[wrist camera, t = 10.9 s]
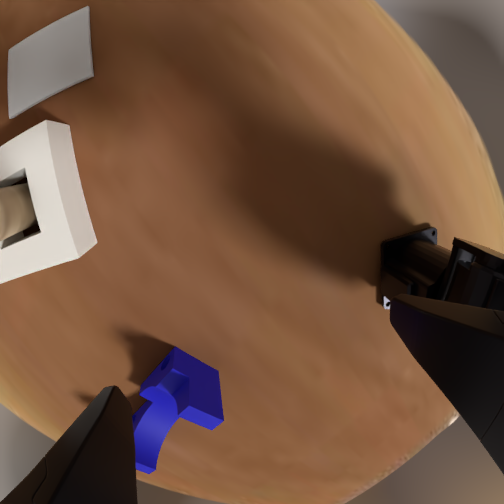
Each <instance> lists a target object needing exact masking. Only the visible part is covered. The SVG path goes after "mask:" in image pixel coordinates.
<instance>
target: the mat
mask: <svg viewBox="0 0 504 504" xmlns="http://www.w3.org/2000/svg"><path fill="white" fill-rule="evenodd" d="M91 77H94V72H93V62H92V50H91V35H90V8H89V7H88V6H87V7H84V8H82V9H80V10H78V11H75V12H73V13H71V14H69V15H67V16H65V17H63V18H61V19H59V20H57V21H55V22H53V23H52V24H50V25H48V26H46V27H44V28H42V29H41V30H39V31H37V32H36V33H34V34H32V35H31V36H29V37H27V38H26V39H24V40H23V41H21V42H20V43H18V44H16V45H15V46H13V47H12V48H11V49H9V53H8V108H9V119H13V118H14V117H16V116H17V115H19V114H21V113H22V112H24V111H26V110H27V109H29V108H31V107H33V106H34V105H36V104H38V103H40V102H41V101H43V100H45V99H47V98H49V97H51V96H53V95H55V94H57V93H59V92H61V91H63V90H65V89H67V88H69V87H71V86H73V85H75V84H78V83H80V82H82V81H84V80H87V79H89V78H91Z"/></svg>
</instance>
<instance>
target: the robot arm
mask: <svg viewBox="0 0 504 504" xmlns="http://www.w3.org/2000/svg"><path fill="white" fill-rule="evenodd" d="M432 231H433V233H432ZM452 244H453V248H452V251H450V250H448V249H446V248H443V247H441V246H439V245H437V229H436V228H434V227H429V228H425V229H422V230H419V231H415V232H412V233H408V234H405V235H402V236H398V237H395V238H391V239H388V240H385V241H383V242H382V244H381V294H382V306H383V307H384V308H385V309H389V308H390V322H391V324H392V326H393V328H394V329H395V331H396V332H397V333H398V335H399V336H400V338H401V339H402V341H403V342H404V344H405V345H406V347H407V348H408V350H409V351H410V353H411V354H412V355H413V357H414V358H415V359H416V361H417V362H418V363H419V364H420V365H421V367H422V368H423V369H424V370H425V371H426V373H427V374H428V375H429V376H430V377H431V379H432V380H433V381H434V382H435V384H436V385H437V386H438V387H439V388H440V390H441V391H442V392H443V393H444V395H445V396H446V397H447V398H448V400H449V401H450V402H451V403H452V405H453V406H454V407H455V409H456V410H457V411H458V412H459V414H460V415H461V416H462V417H463V419H464V420H465V421H466V423H467V424H468V425H469V427H470V428H471V429H472V431H473V432H474V433H475V434H476V436H477V437H478V439H479V440H480V442H481V443H482V444H483V446H484V447H485V448H486V450H487V451H488V453H489V454H490V456H491V457H492V458H493V460H494V461H495V463H496V464H497V466H498V467H499V468H500V470H501V471H502V473H503V474H504V254H502V253H499V252H497V251H495V250H492V249H490V248H487V247H485V246H482V245H479V244H476V243H472V242H469V241H466V240H463V239H459V238H456V237H454V240H453V243H452ZM386 245H388V247H387V248H386ZM387 302H388V303H387ZM386 303H387V304H386ZM0 504H138V503H137V487H136V454H135V440H134V431H133V420H132V409H131V405H130V403H129V401H128V400H127V398H126V397H125V396H124V394H123V393H122V391H121V390H120V389H119V387H117V386H115V385H114V386H108V387H105V388H104V389H103V390H102V391H101V392H100V393H99V394H98V395H97V396H96V398H95V399H94V400H93V401H92V402H91V403H90V404H89V405H88V407H87V408H86V409H85V410H84V411H83V412H82V413H81V415H80V416H79V417H78V418H77V419H76V420H75V421H74V423H73V424H72V425H71V426H70V427H69V428H68V429H67V431H66V432H65V433H64V434H63V435H62V436H61V437H60V439H59V440H58V441H57V442H56V443H55V444H54V446H53V447H52V448H51V449H50V450H49V451H48V453H47V454H46V455H45V457H43V458H42V460H41V461H40V462H39V463H38V464H37V465H36V467H35V468H34V469H33V470H32V471H31V472H30V473H29V474H28V475H27V476H26V477H25V478H24V479H23V481H21V482H20V483H19V485H17V486H16V488H14V489H13V490H12V491H11V492H10V493H9V494H8V495H7V496H6V497H5V498H4V499H3V500H2V501H1V502H0Z"/></svg>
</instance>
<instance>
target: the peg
mask: <svg viewBox="0 0 504 504" xmlns="http://www.w3.org/2000/svg"><path fill="white" fill-rule="evenodd" d="M36 224H38V221H37V217H36V214H35V210H34V206H33V202H32V198H31V194H30V190H29V185H28V183H25V184H19V185H14V186H9V187H5V188H0V241H2V240H4V239H6V238H8V237H10V236H12V235H14V234H16V233H18V232H21V231H23V230H25V229H27V228H29V227H31V226H34V225H36Z"/></svg>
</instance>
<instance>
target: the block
mask: <svg viewBox="0 0 504 504" xmlns="http://www.w3.org/2000/svg"><path fill="white" fill-rule="evenodd" d="M25 177H27V180H28V185H29V190H30V194H31V198H32V202H33V206H34V210H35V214H36V217H37V221H38V224H39V228H40V231H38V232H35V233H33V234H30V235H28V236H26V237H24V234H23V231H21V232H18V233H16V234H14V235H12V236H10V237H8V238H6V239H4V240H2V241H0V284H1V283H4V282H6V281H9V280H12V279H15V278H18V277H21V276H24V275H27V274H30V273H33V272H36V271H39V270H42V269H45V268H49V267H52V266H55V265H58V264H61V263H64V262H68V261H71V260H74V259H77V258H80V257H81V256H82V255H83V254H84V253H86V252H87V251H88V250H89V249H91V248H92V247H93V246H94V245H95V244H97V243H98V242H97V239H96V236H95V233H94V230H93V226H92V223H91V220H90V216H89V213H88V209H87V205H86V202H85V198H84V194H83V190H82V186H81V182H80V178H79V173H78V169H77V164H76V159H75V154H74V149H73V144H72V138H71V132H70V126H69V125H67V124H62V123H58V122H54V121H49V120H45V121H43V122H41V123H39V124H37V125H36V126H34V127H32V128H30V129H28V130H27V131H25V132H23V133H21V134H20V135H18V136H16V137H15V138H13V139H12V140H10V141H8V142H7V143H5V144H4V145H2V146H1V147H0V188H5V187H9V186H11V185H12V184H14V183H16V182H18V181H20V180H21V179H23V178H25Z"/></svg>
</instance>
